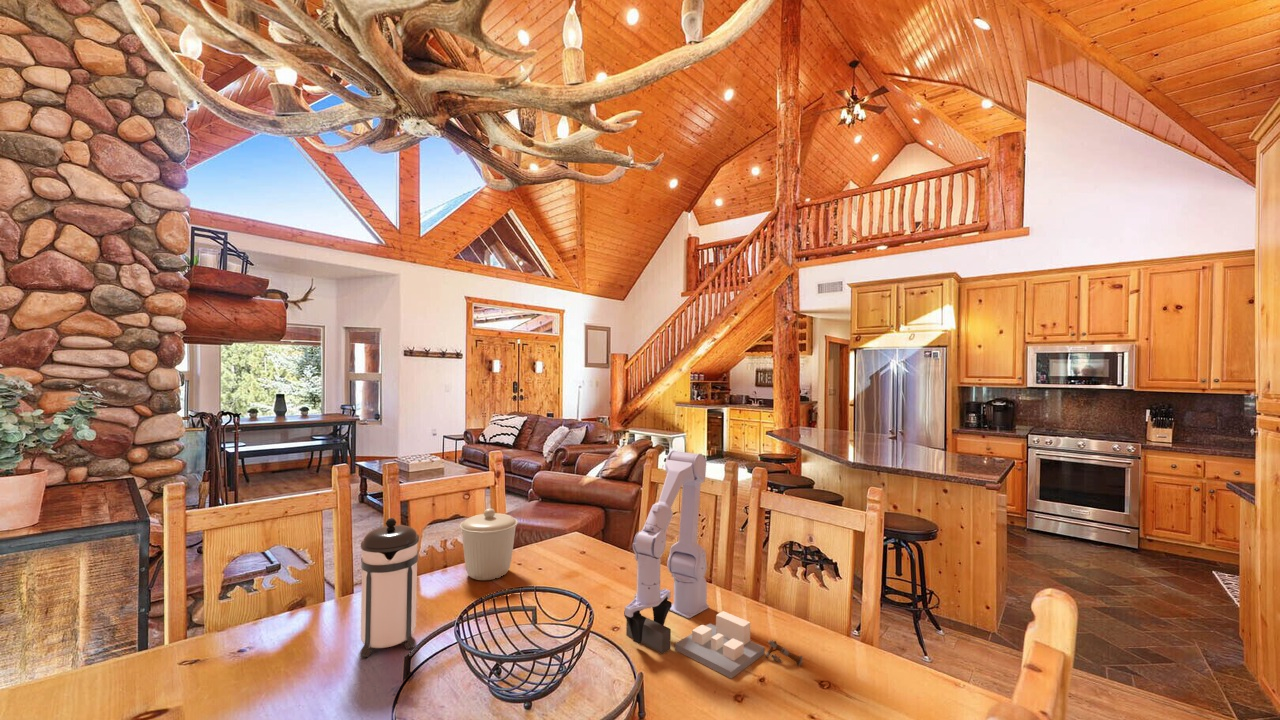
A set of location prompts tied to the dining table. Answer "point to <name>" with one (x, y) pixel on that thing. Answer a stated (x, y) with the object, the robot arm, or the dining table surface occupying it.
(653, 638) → the charcoal rectangular block
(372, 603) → the coffee press
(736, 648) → the stand
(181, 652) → the dining table surface
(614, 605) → the dining table surface
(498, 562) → the canister
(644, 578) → the robot arm
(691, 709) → the dining table surface
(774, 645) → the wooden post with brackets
